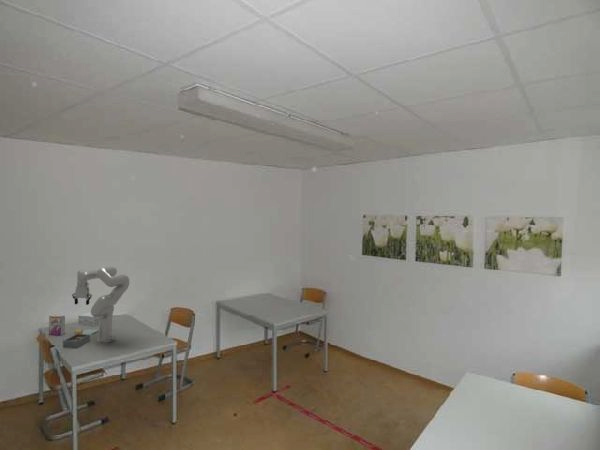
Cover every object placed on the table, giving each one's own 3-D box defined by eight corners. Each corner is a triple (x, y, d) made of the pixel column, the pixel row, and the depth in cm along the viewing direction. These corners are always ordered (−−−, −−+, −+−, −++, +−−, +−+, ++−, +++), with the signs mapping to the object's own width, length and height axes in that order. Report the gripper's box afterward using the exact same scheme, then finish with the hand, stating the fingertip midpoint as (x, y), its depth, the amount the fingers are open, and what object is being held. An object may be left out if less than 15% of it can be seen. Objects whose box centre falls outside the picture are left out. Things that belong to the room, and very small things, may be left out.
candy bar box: (48, 334, 303) (48, 315, 302) (53, 332, 308) (53, 314, 307) (60, 335, 302) (60, 316, 301) (65, 333, 307) (65, 315, 306)
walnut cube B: (78, 344, 282) (78, 339, 282) (76, 346, 278) (76, 341, 278) (72, 344, 281) (72, 339, 281) (70, 346, 277) (70, 341, 277)
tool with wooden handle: (87, 331, 316) (87, 323, 316) (98, 331, 315) (98, 324, 315) (70, 339, 295) (71, 331, 295) (83, 339, 295) (83, 331, 295)
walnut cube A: (83, 341, 288) (83, 337, 288) (80, 343, 284) (80, 338, 284) (78, 341, 288) (78, 336, 288) (75, 343, 284) (75, 338, 284)
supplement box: (104, 322, 341) (104, 312, 341) (93, 326, 328) (93, 316, 328) (89, 320, 344) (89, 311, 344) (78, 325, 331) (78, 315, 331)
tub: (76, 341, 291) (76, 333, 291) (89, 341, 291) (89, 334, 290) (62, 348, 275) (63, 340, 275) (76, 349, 275) (76, 341, 274)
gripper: (94, 284, 307) (94, 303, 308) (75, 283, 308) (74, 302, 308) (89, 285, 300) (89, 305, 300) (69, 285, 300) (69, 305, 301)
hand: (81, 304), depth 304 cm, fingers open, 9 cm apart
